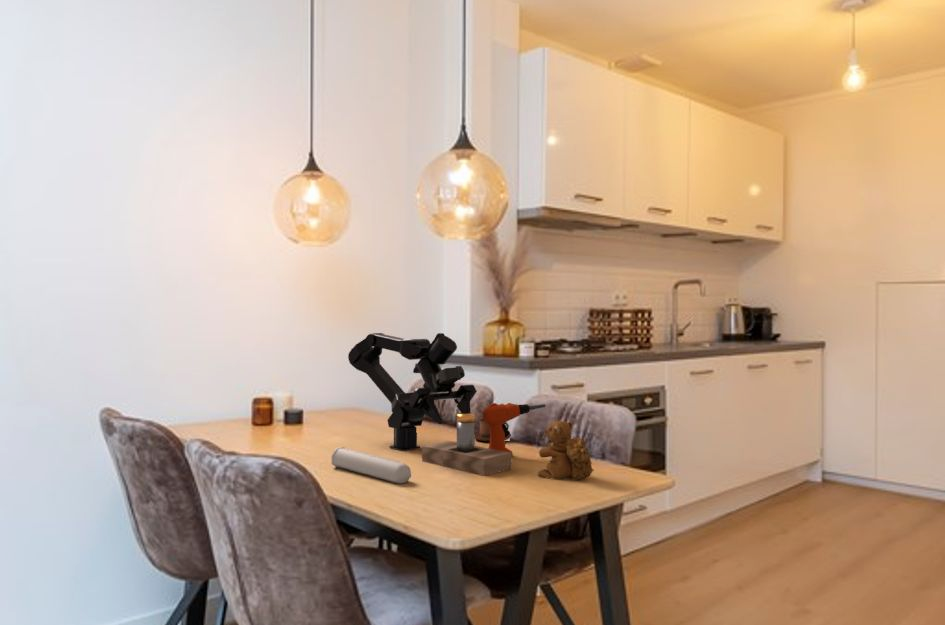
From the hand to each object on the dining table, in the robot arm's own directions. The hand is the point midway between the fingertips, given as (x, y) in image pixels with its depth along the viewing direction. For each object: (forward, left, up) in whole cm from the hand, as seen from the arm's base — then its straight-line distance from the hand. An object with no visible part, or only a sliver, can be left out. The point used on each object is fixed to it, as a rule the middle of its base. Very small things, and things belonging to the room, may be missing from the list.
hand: (455, 421), depth 179 cm
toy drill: (+5, +17, -11) cm, 21 cm away
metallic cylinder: (+4, -1, -10) cm, 11 cm away
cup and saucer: (-14, +30, -11) cm, 35 cm away
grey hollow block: (+4, -1, -10) cm, 11 cm away
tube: (-4, -24, -11) cm, 27 cm away
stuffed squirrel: (+30, +8, -11) cm, 33 cm away
